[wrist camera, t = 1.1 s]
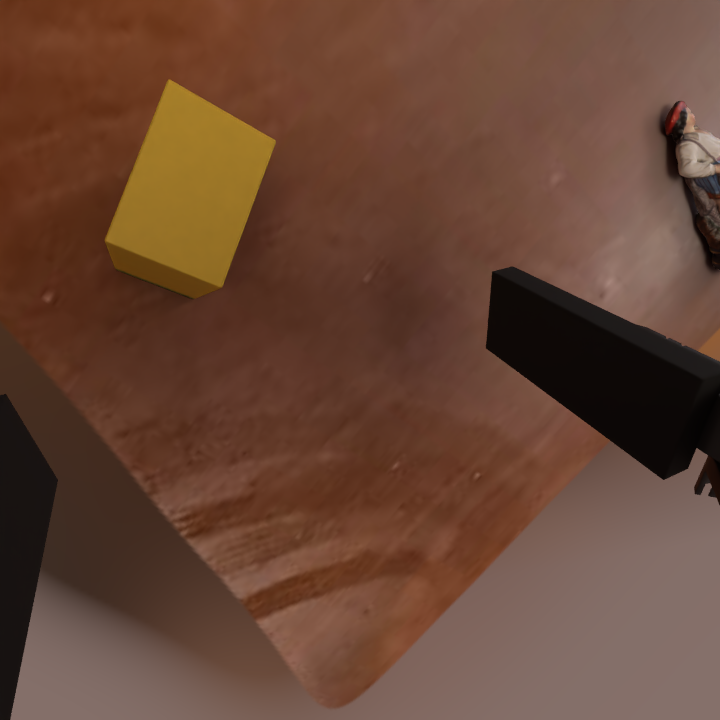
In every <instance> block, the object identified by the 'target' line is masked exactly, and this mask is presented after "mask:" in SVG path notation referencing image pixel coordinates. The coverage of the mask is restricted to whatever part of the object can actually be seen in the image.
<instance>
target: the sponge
mask: <svg viewBox="0 0 720 720" xmlns="http://www.w3.org/2000/svg"><path fill="white" fill-rule="evenodd" d="M275 143H276V141H275V140H274V139H272V138H270V137H269V136H267V135H265V134H263V133H262V132H260V131H258V130H256V129H255V128H253V127H251V126H249V125H248V124H246V123H244V122H243V121H241V120H239V119H237V118H236V117H234V116H232V115H230V114H229V113H227V112H225V111H223V110H222V109H220V108H218V107H217V106H215V105H213V104H211V103H210V102H208V101H206V100H204V99H203V98H201V97H199V96H197V95H196V94H194V93H192V92H190V91H189V90H187V89H185V88H184V87H182V86H180V85H178V84H177V83H175V82H173V81H171V80H168V81H167V83H166V86H165V88H164V91H163V93H162V96H161V98H160V101H159V104H158V106H157V109H156V111H155V114H154V116H153V119H152V121H151V124H150V126H149V129H148V131H147V134H146V136H145V139H144V141H143V144H142V146H141V149H140V151H139V154H138V157H137V159H136V162H135V164H134V167H133V169H132V172H131V174H130V177H129V179H128V182H127V184H126V187H125V189H124V192H123V194H122V197H121V199H120V202H119V205H118V207H117V210H116V212H115V215H114V217H113V220H112V222H111V225H110V227H109V230H108V232H107V235H106V237H105V243H106V246H107V249H108V251H109V254H110V257H111V259H112V262H113V265H114V267H115V269H116V270H117V271H120V272H122V273H125V274H128V275H130V276H133V277H136V278H138V279H141V280H144V281H146V282H149V283H151V284H154V285H157V286H159V287H162V288H165V289H167V290H170V291H172V292H175V293H178V294H180V295H183V296H186V297H188V298H191V299H196V298H198V297H201V296H203V295H206V294H208V293H210V292H213V291H215V290H218V289H220V288H222V286H223V284H224V281H225V278H226V276H227V273H228V270H229V268H230V265H231V262H232V259H233V257H234V254H235V251H236V249H237V246H238V243H239V241H240V238H241V235H242V232H243V230H244V227H245V224H246V222H247V219H248V216H249V214H250V211H251V208H252V205H253V203H254V200H255V197H256V195H257V192H258V189H259V187H260V184H261V181H262V178H263V176H264V173H265V170H266V168H267V165H268V162H269V160H270V157H271V154H272V151H273V149H274V146H275Z"/></svg>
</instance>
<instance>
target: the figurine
mask: <svg viewBox="0 0 720 720" xmlns="http://www.w3.org/2000/svg"><path fill="white" fill-rule="evenodd" d="M694 116H695V115H693V114H692V112H691V111H690V110H689V109H688V108H687V105H686V104H685V103H684V102H683V101H678V102H676V103H675V104H674V106H673V107H672V108H671V110H670V111H669V113H668V115H667V117H666V120H665V130H666V134H667V135H671V134H672V135H673V140H674V141H675V142H677V145H676V148H675V152H676V158H677V160H678V170H679V174H680V175H681V176H684V177H685V181H686V183H687V185H688V186H689V188H690V190H691V191H692V193H693V196H694V201H695V204H696V207H697V210H698V212H699V213H698V214H697V215H696V223H697V226H698V228H699V229H700V231H701V233H703V235H704V236H705V237H706V240H707V243H708V245H709V246H710V247H709V250H710V251H711V252H712V253H713V256H712V262H713V266H714V268H715V269H719V270H720V139H718V138H715V137H714V136H713V135H712V134H711V133H710V132H709V131H706V130H703V129H701V128H700V127H698V126H697V125H696V126H694V124H695V122H696V121H695V117H694Z"/></svg>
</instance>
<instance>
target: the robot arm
mask: <svg viewBox="0 0 720 720" xmlns="http://www.w3.org/2000/svg"><path fill="white" fill-rule="evenodd" d="M486 349H488V350H489V351H490V352H492V353H493V354H495V355H496V356H497V357H499V358H500V359H501V360H503V361H504V362H505V363H507V364H508V365H509V366H511V367H512V368H513V369H515V370H516V371H517V372H519V373H520V374H521V375H523V376H524V377H525V378H527V379H528V380H530V381H531V382H532V383H534V384H535V385H536V386H538V387H539V388H540V389H542V390H543V391H544V392H546V393H547V394H548V395H550V396H551V397H552V398H554V399H555V400H556V401H558V402H559V403H561V404H562V405H563V406H565V407H566V408H567V409H569V410H570V411H571V412H573V413H574V414H575V415H577V416H578V417H579V418H581V419H582V420H583V421H585V422H586V423H587V424H589V425H590V426H591V427H593V428H594V429H596V430H597V431H598V432H600V433H601V434H602V435H604V436H605V437H606V438H608V439H609V440H610V441H612V442H613V443H614V444H616V445H617V446H618V447H620V448H621V449H623V450H624V451H625V452H627V453H628V454H629V455H631V456H632V457H633V458H635V459H636V460H637V461H639V462H640V463H641V464H643V465H644V466H645V467H647V468H648V469H650V470H651V471H652V472H653V473H655V474H657V476H659V477H660V478H662V479H663V480H665V479H667V478H669V477H671V476H673V475H675V474H677V473H680V472H682V471H684V470H686V469H688V467H689V464H690V462H691V460H692V457H693V455H694V453H695V450H696V448H698V449H699V450H701V451H702V452H704V453H705V454H707V455H708V458H707V460H706V462H705V464H704V467H703V469H702V471H701V473H700V475H699V478H698V480H697V482H696V485H695V487H694V490H695V494H697V495H700V494H701V493H702V490H703V488H704V486H705V484H707V483H711V485H712V488H711V490H710V493H709V495H708V496H710V497H716V498H717V499H718V502H719V505H720V362H719V361H717V360H715V359H713V358H711V357H709V356H707V355H704V354H702V353H700V352H698V351H696V350H694V349H692V348H690V347H687V346H682V345H681V343H679V342H677V341H675V340H672V339H670V338H668V339H666V336H664V335H662V334H660V333H658V332H655V331H653V330H651V329H649V328H647V327H643V326H640V325H636V324H633V323H631V322H629V321H627V320H625V319H623V318H621V317H619V316H616V315H614V314H612V313H610V312H608V311H606V310H604V309H602V308H600V307H597V306H595V305H593V304H591V303H589V302H587V301H585V300H583V299H581V298H578V297H576V296H574V295H572V294H570V293H568V292H566V291H564V290H561V289H559V288H557V287H555V286H553V285H551V284H549V283H547V282H545V281H542V280H540V279H538V278H536V277H534V276H532V275H530V274H528V273H526V272H523V271H521V270H519V269H517V268H515V267H509V268H505V269H501V270H497V271H493V272H492V281H491V293H490V306H489V318H488V330H487V342H486ZM57 482H58V479H57V478H56V476H55V474H54V473H53V471H52V469H51V468H50V466H49V465H48V463H47V461H46V459H45V458H44V456H43V455H42V453H41V451H40V450H39V448H38V446H37V445H36V443H35V441H34V440H33V438H32V437H31V435H30V433H29V432H28V430H27V428H26V426H25V425H24V423H23V421H22V420H21V418H20V416H19V415H18V413H17V412H16V410H15V408H14V407H13V405H12V403H11V402H10V400H9V398H8V397H7V395H6V394H4V395H0V720H10V717H11V713H12V708H13V703H14V698H15V693H16V687H17V682H18V677H19V672H20V667H21V662H22V657H23V652H24V647H25V642H26V637H27V632H28V627H29V622H30V617H31V612H32V607H33V602H34V597H35V592H36V587H37V582H38V577H39V572H40V567H41V562H42V557H43V552H44V547H45V542H46V537H47V532H48V527H49V522H50V517H51V512H52V507H53V502H54V497H55V492H56V487H57Z"/></svg>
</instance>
